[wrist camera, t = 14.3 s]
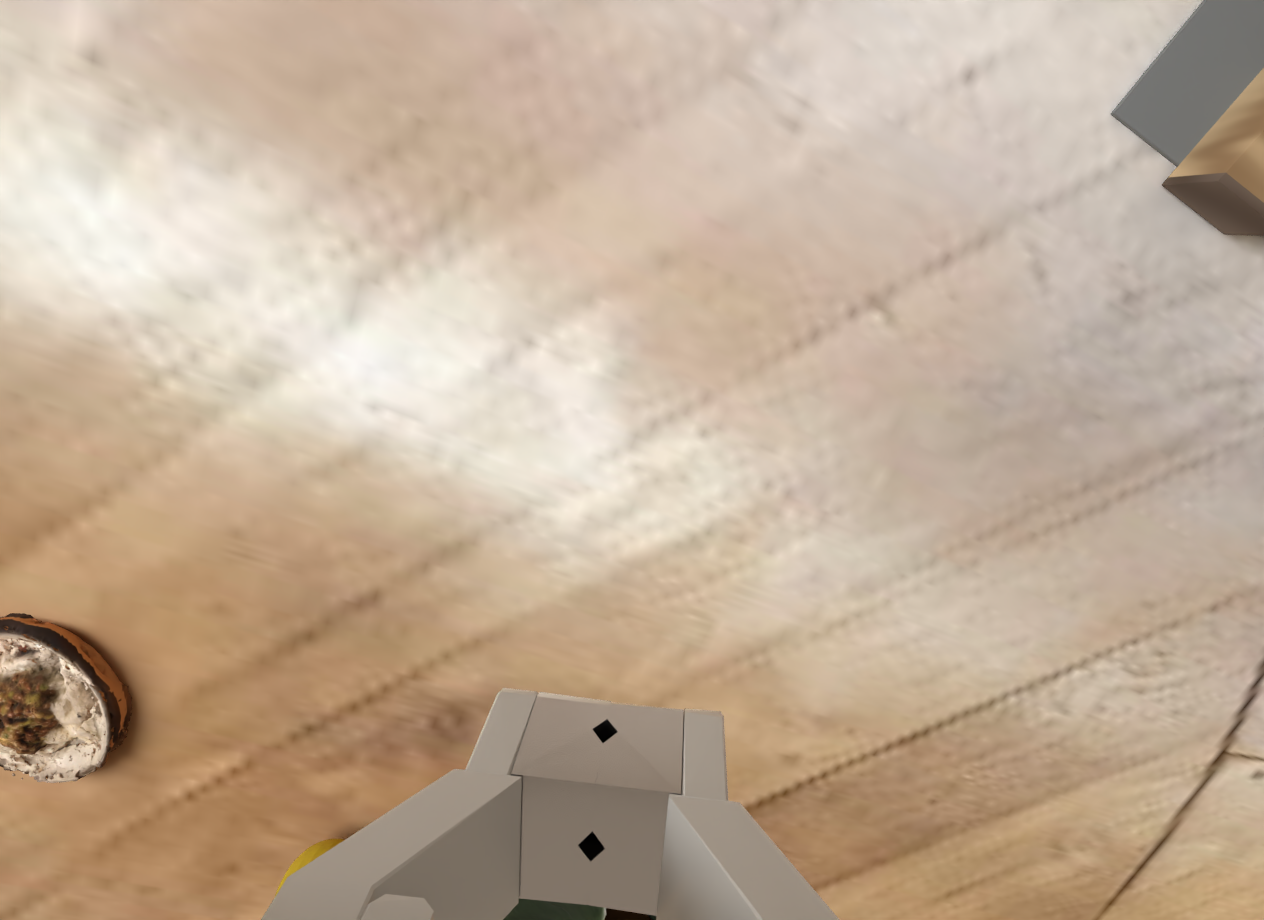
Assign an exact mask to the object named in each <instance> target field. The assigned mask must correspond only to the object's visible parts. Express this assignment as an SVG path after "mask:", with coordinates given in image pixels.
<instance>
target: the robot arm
mask: <svg viewBox="0 0 1264 920" xmlns="http://www.w3.org/2000/svg"><path fill="white" fill-rule="evenodd" d="M519 898H520V899H531V900H541V901H552V902H562V903H572V904H583V905H591V906H597V907H603V908H610V909H616V910H622V911H629V912H635V913H641V914H648V915H654V916H656V920H839V919H838V917H837V916H836V915H835V914H834V913H833V912H832V910H831V909H830V908H829V907H828V906H827V904H826V903H825V902H824V901H823V900H822V899H821V897H820V896H819V895H818V894H817V893H816V892H815V890H814V889H813V888H812V887H811V886H810V885H809V883H808V882H807V881H806V880H805V879H804V877H803V876H802V875H801V874H800V873H799V872H798V870H797V869H796V868H795V867H794V866H793V865H792V863H791V862H790V861H789V860H788V859H787V858H786V856H785V855H784V854H783V853H782V852H781V850H780V849H779V848H778V847H777V846H776V845H775V843H774V842H773V841H772V840H771V839H770V838H769V836H768V835H767V834H766V833H765V832H764V831H763V829H762V828H761V827H760V826H759V825H758V823H757V822H756V821H755V820H754V819H753V818H752V816H751V815H750V814H749V813H748V812H747V811H746V809H745V808H744V807H743V806H742V805H741V804H740V803H739V802H732V801H728V788H727V770H726V752H725V734H724V716H723V715H722V713H721V711H709V710H696V709H684V710H680V709H671V708H662V707H652V706H643V705H633V704H624V703H614V702H611V701H604V700H596V699H589V698H581V697H574V696H566V695H559V694H551V693H544V692H540V693H538V692H535V691H526V690H518V689H509V688H503V689H502V690H501V691H500V692H499V693H498V694H497V696H496V698H495V701H494V703H493V705H492V708H491V710H490V712H489V715H488V717H487V720H486V722H485V724H484V727H483V729H482V731H481V734H480V736H479V738H478V741H477V743H476V746H475V748H474V750H473V753H472V755H471V757H470V760H469V762H468V764H467V767H466V769H465V770H460V769H453V770H452V771H450V772H449V773H447V774H446V775H444V776H442V777H441V778H439V779H438V780H436V781H435V782H433V783H432V784H430V785H429V786H427V787H426V788H424V789H422V790H421V791H419V792H418V793H416V794H415V795H413V796H412V797H410V798H409V799H407V800H406V801H404V802H402V803H401V804H399V805H398V806H396V807H395V808H393V809H392V810H390V811H389V812H387V813H386V814H384V815H382V816H381V817H379V818H378V819H376V820H375V821H373V822H372V823H370V824H369V825H367V826H365V827H364V828H362V829H361V830H359V831H358V832H356V833H355V834H353V835H352V836H350V837H349V838H347V839H345V840H344V841H342V842H341V843H339V844H338V845H336V846H335V847H333V848H332V849H330V850H329V851H327V852H325V853H324V854H322V855H321V856H319V857H318V858H316V859H315V860H313V861H312V862H310V863H309V864H307V865H305V866H304V867H302V868H301V869H299V870H298V871H296V872H295V873H293V874H292V875H290V876H289V877H287V879H286V881H285V882H284V884H283V885H282V887H281V889H280V890H279V892H278V893H277V895H276V896H275V898H274V900H273V901H272V903H271V904H270V906H269V908H268V909H267V911H266V912H265V914H264V916H263V917H262V919H261V920H503V919H504V918H505V917H506V916H507V915H508V914H509V913H510V912H511V910H512V909H513V908H514V907H515V906H516V905H517V904H518V903H519Z"/></svg>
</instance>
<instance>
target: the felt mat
mask: <svg viewBox="0 0 1264 920" xmlns="http://www.w3.org/2000/svg"><path fill="white" fill-rule="evenodd" d="M1263 68H1264V0H1204V1H1203V2H1202V3H1201V4H1200V6H1199V7H1198V8H1197V9H1196V11H1195V12H1194V13H1193V14H1192V15H1191V17H1190V18H1189V19H1188V20H1187V22H1186V23H1185V24H1184V25H1183V26H1182V28H1181V29H1180V30H1179V31H1178V32H1177V34H1176V35H1175V36H1174V37H1173V39H1172V40H1171V41H1170V42H1169V43H1168V45H1167V46H1166V47H1165V48H1164V50H1163V51H1162V52H1161V53H1160V54H1159V56H1158V57H1157V58H1156V59H1155V61H1154V62H1153V63H1152V64H1151V65H1150V67H1149V68H1148V69H1147V70H1146V72H1145V73H1144V74H1143V75H1142V76H1141V78H1140V79H1139V80H1138V81H1137V83H1136V84H1135V85H1134V86H1133V87H1132V89H1131V90H1130V91H1129V92H1128V93H1127V95H1126V96H1125V97H1124V98H1123V100H1122V101H1121V102H1120V103H1119V104H1118V106H1117V107H1116V108H1115V109H1114V111H1113V112H1112V113H1111V115H1112V116H1114V117H1115V118H1116V119H1118V120H1119V121H1120V122H1121V123H1123V124H1124V125H1125V126H1126V127H1128V128H1129V129H1130V130H1131V131H1133V132H1134V133H1135V134H1136V135H1138V136H1139V137H1140V138H1141V139H1143V140H1144V141H1145V142H1146V143H1148V144H1149V145H1150V146H1152V147H1153V148H1154V149H1155V150H1157V151H1158V152H1159V153H1160V154H1162V155H1163V156H1164V157H1165V158H1167V159H1168V160H1169V161H1170V162H1172V163H1173V164H1174V165H1175V166H1177V167H1178V166H1179V164H1180V163H1181V162H1182V161H1183V160H1184V159H1185V157H1186V156H1187V155H1188V154H1189V153H1190V152H1191V151H1192V149H1193V148H1194V147H1195V146H1196V145H1197V144H1198V143H1199V141H1200V140H1201V139H1202V138H1203V137H1204V136H1205V134H1206V133H1207V132H1208V131H1209V130H1210V129H1211V128H1212V126H1213V125H1214V124H1215V123H1216V122H1217V121H1218V120H1219V118H1220V117H1221V116H1222V115H1223V114H1224V113H1225V112H1226V110H1227V109H1228V108H1229V107H1230V106H1231V105H1232V103H1233V102H1234V101H1235V100H1236V99H1237V98H1238V97H1239V95H1240V94H1241V93H1242V92H1243V91H1244V90H1245V89H1246V87H1247V86H1248V85H1249V84H1250V83H1251V82H1252V80H1253V79H1254V78H1255V77H1256V76H1257V75H1258V74H1259V72H1260V71H1261V70H1262V69H1263Z"/></svg>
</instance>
